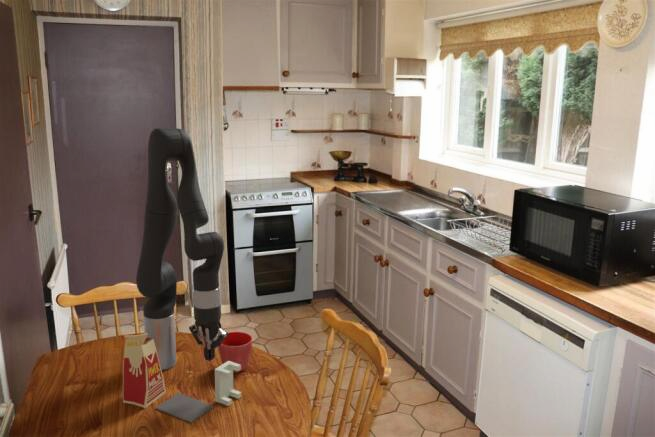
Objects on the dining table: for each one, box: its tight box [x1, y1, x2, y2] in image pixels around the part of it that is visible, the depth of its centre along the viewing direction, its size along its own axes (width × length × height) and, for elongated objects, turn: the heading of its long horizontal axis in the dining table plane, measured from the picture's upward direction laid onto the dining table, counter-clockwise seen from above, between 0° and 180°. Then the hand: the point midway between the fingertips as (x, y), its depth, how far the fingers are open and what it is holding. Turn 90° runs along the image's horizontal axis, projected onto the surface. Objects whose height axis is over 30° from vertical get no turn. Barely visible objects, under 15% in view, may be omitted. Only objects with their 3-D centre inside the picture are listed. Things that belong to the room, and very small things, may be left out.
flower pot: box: [217, 331, 254, 373], centre depth 181 cm, size 11×11×10 cm
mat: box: [154, 392, 215, 424], centre depth 158 cm, size 13×9×1 cm
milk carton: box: [122, 333, 167, 409], centre depth 161 cm, size 9×9×20 cm
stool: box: [214, 361, 242, 407], centre depth 162 cm, size 5×6×10 cm
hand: (209, 359), depth 165 cm, fingers closed
